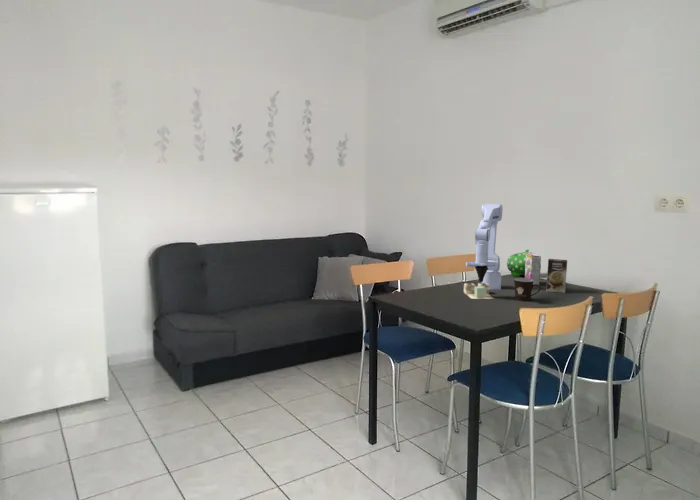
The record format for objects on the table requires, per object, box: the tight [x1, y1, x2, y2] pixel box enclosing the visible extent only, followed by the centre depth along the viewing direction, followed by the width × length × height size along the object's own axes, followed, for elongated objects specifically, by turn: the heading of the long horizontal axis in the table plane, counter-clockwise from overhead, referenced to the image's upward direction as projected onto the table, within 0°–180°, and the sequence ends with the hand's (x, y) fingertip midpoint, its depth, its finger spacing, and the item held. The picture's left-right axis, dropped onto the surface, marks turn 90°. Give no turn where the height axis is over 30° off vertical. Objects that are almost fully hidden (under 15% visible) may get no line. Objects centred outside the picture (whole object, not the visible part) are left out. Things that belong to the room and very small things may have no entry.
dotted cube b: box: [463, 282, 476, 295], centre depth 260 cm, size 4×4×5 cm
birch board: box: [466, 293, 495, 300], centre depth 257 cm, size 11×15×1 cm
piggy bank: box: [506, 249, 542, 278], centre depth 307 cm, size 14×18×15 cm
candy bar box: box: [524, 252, 542, 287], centre depth 284 cm, size 11×5×16 cm, turn 179°
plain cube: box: [474, 285, 487, 297], centre depth 253 cm, size 4×4×4 cm
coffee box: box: [545, 258, 568, 294], centre depth 268 cm, size 9×6×16 cm
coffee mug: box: [513, 277, 542, 302], centre depth 246 cm, size 12×9×10 cm
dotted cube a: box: [477, 282, 490, 295], centre depth 260 cm, size 4×4×5 cm
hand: (480, 281), depth 253 cm, fingers closed
